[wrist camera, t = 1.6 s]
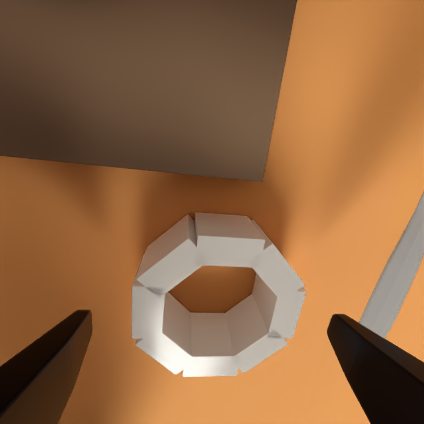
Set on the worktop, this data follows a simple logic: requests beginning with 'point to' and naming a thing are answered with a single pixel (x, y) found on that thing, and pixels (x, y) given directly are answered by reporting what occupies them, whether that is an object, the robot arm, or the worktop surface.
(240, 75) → the peg stand
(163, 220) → the worktop surface
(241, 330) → the ring
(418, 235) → the butter knife
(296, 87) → the worktop surface
